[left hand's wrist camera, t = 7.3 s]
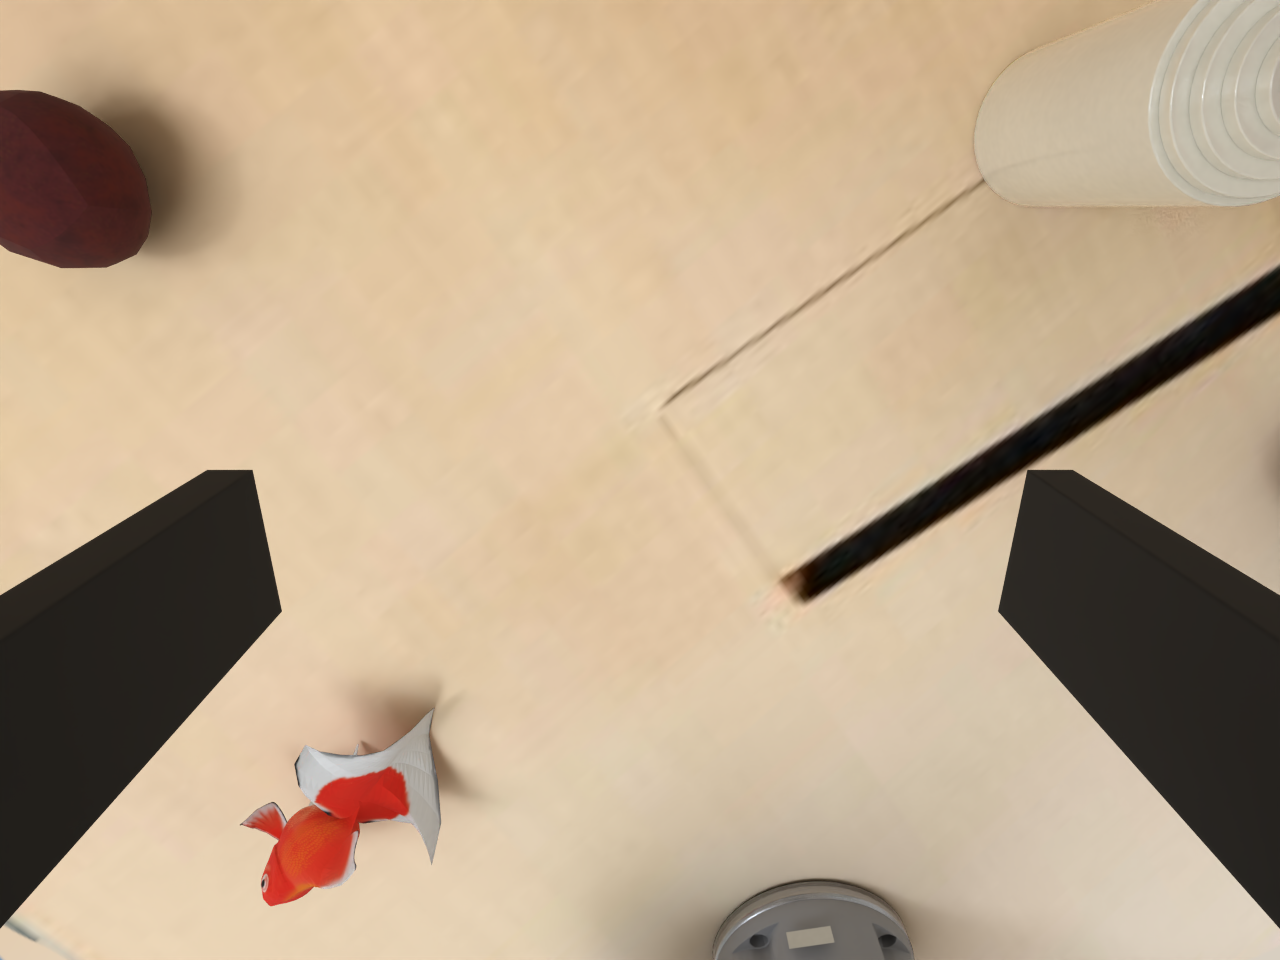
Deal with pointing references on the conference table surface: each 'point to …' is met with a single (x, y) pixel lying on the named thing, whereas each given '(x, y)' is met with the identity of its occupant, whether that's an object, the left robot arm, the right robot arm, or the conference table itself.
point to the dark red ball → (67, 185)
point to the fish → (347, 812)
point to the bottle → (1141, 111)
